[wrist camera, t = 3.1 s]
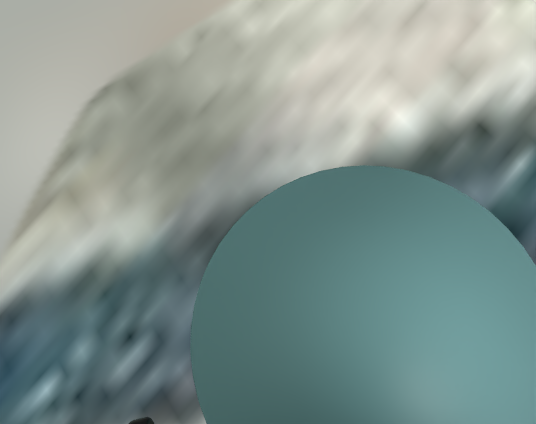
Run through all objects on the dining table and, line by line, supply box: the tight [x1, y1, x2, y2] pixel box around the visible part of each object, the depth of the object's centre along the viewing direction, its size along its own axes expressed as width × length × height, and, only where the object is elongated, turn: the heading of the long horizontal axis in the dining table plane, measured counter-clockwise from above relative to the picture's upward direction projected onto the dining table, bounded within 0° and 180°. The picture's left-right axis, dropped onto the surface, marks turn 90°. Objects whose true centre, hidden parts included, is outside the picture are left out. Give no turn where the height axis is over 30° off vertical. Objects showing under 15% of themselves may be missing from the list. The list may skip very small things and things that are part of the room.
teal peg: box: [191, 166, 536, 424], centre depth 12 cm, size 4×4×13 cm
